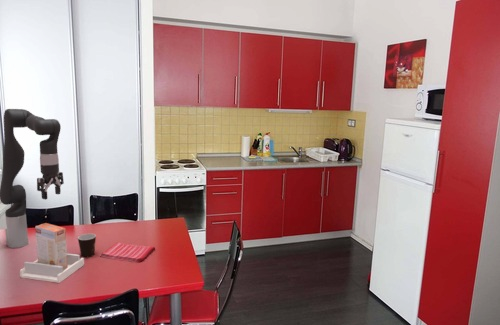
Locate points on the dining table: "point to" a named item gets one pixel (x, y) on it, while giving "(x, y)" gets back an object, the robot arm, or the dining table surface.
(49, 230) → the cracker box
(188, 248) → the dining table surface
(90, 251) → the coffee mug
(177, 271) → the dining table surface
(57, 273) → the white shallow tray
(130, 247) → the dish towel
